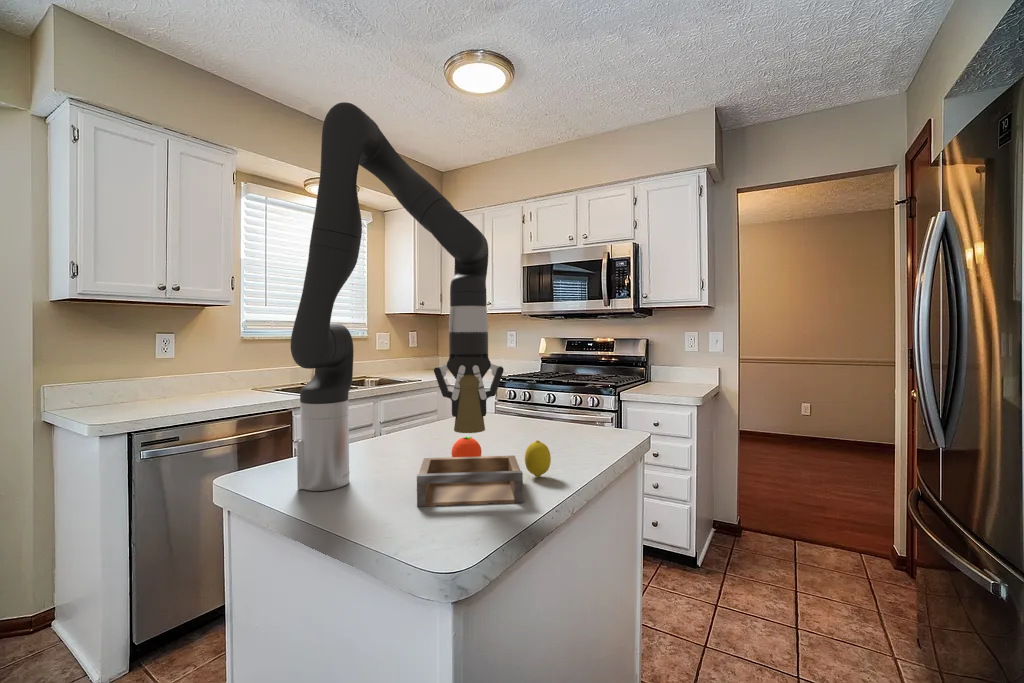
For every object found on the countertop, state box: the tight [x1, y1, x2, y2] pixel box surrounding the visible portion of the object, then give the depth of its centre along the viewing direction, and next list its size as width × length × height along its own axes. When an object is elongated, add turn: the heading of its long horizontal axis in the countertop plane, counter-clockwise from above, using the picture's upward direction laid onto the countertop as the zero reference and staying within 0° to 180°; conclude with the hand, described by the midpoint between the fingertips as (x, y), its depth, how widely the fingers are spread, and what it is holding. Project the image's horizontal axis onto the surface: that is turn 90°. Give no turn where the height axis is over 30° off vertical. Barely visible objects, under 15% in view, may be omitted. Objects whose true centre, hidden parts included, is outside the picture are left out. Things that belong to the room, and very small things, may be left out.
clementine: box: [451, 436, 482, 457], centre depth 112 cm, size 8×7×7 cm
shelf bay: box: [416, 455, 524, 508], centre depth 94 cm, size 19×14×6 cm
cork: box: [453, 374, 486, 434], centre depth 93 cm, size 6×6×11 cm
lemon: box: [524, 439, 552, 478], centre depth 103 cm, size 6×6×8 cm
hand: (469, 418), depth 93 cm, fingers closed on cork, 4 cm apart
